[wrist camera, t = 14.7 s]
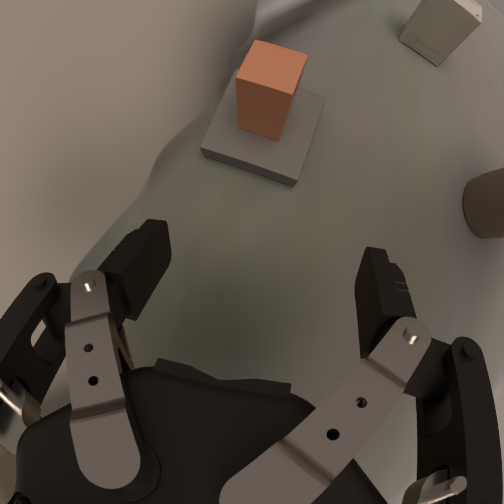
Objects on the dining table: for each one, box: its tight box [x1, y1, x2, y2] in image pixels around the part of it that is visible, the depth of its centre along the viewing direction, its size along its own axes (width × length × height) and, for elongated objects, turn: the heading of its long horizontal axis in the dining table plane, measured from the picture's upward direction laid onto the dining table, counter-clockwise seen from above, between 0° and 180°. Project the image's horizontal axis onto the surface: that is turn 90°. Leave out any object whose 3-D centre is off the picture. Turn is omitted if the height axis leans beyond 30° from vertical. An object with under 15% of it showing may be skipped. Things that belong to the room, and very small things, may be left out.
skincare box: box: [399, 0, 482, 66], centre depth 26 cm, size 8×6×15 cm
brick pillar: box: [236, 40, 308, 141], centre depth 25 cm, size 5×5×10 cm
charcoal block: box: [200, 69, 325, 187], centre depth 32 cm, size 11×11×4 cm
